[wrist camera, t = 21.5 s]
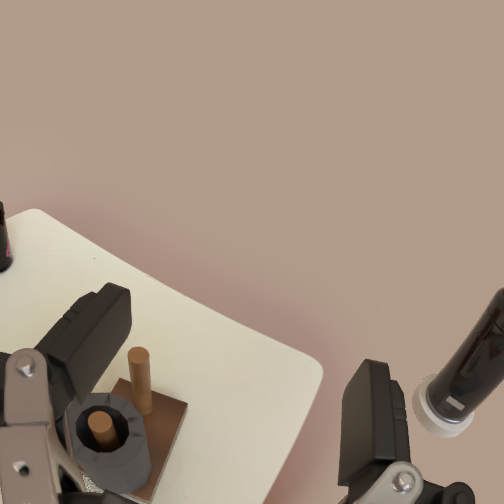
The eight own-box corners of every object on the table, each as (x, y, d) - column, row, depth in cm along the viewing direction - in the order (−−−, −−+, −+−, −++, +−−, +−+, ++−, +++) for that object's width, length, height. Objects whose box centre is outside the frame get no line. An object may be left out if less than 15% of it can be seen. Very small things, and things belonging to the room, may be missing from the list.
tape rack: (121, 384, 32) (110, 319, 27) (187, 409, 31) (193, 349, 26) (74, 469, 22) (38, 422, 16) (150, 504, 21) (139, 473, 16)
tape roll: (160, 449, 25) (157, 411, 21) (137, 504, 20) (125, 481, 16) (100, 424, 26) (84, 380, 22) (74, 474, 20) (46, 440, 16)
